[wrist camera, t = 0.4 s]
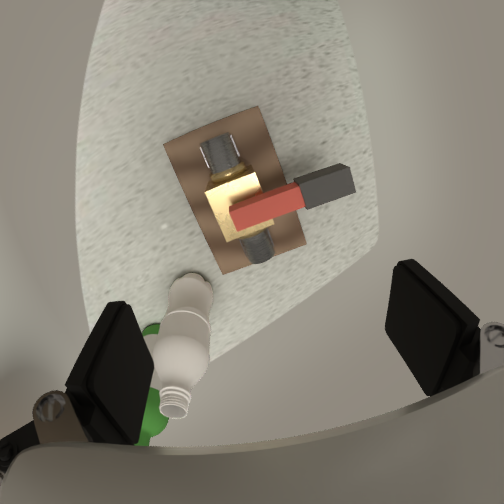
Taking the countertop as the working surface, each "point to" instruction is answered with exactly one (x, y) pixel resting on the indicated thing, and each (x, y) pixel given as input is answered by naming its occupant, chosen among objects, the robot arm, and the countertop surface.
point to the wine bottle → (152, 396)
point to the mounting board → (252, 153)
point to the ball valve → (235, 196)
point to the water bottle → (183, 343)
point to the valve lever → (294, 196)
